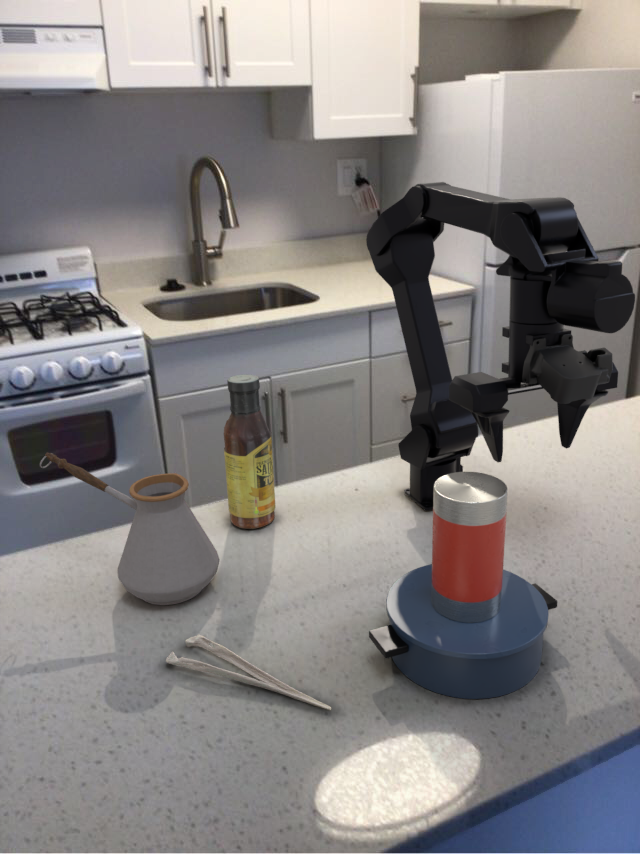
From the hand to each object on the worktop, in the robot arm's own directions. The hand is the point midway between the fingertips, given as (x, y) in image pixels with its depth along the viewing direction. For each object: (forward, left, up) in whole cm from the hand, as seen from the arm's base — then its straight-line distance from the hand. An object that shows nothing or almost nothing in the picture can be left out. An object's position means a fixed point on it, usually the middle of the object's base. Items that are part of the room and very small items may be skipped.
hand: (532, 454), depth 87 cm
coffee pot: (-44, +14, -13) cm, 49 cm away
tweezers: (-37, -8, -13) cm, 40 cm away
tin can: (-16, -12, -8) cm, 22 cm away
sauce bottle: (-27, +22, -13) cm, 38 cm away
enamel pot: (-16, -13, -13) cm, 24 cm away
